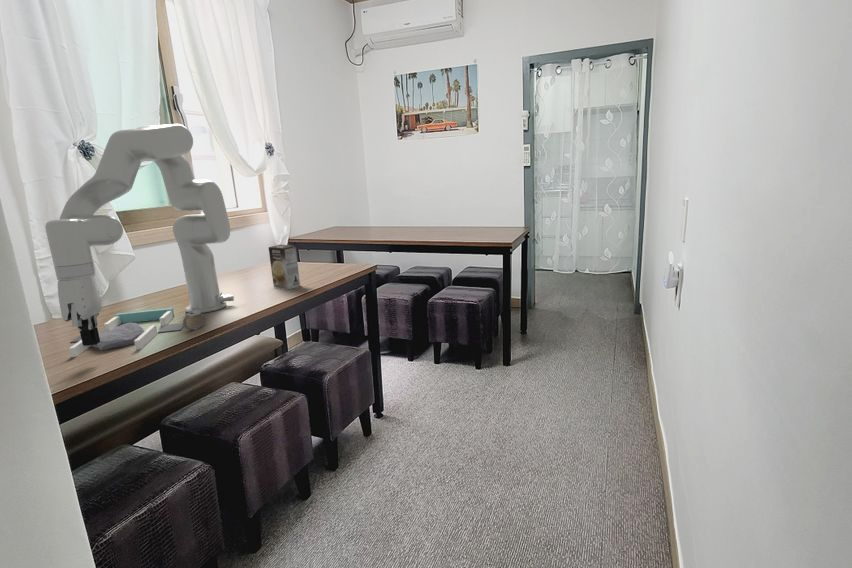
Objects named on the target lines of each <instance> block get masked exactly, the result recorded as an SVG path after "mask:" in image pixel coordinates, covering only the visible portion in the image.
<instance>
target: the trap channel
mask: <svg viewBox="0 0 852 568" xmlns="http://www.w3.org/2000/svg"><path fill="white" fill-rule="evenodd" d="M174 318H175V314H174V308H173V307H170V308H160V309H150V310H149V309H148V310H140V311H131V312H121V313H116V314H114V317H112V318H111V319H109V320H108V321H106V322H105V323H103V327H104V330H103V331H99V332H100V333H101V332H107V331H110V330H112V329H113V328H115V327H117V326H120V325H122V324H126V323H137V322H139V323H140V322H147V321H148V322H149V321H155V320H159V323H160V326H161V328H160V329H159V331H158V329H157V325H156V324H153V325H150V326H149V327H147V329H145V330H144V332H143V333H142V334H141V335H140V336H139V337H138V338H137V339H136V340H134V343H133V344H134V348H135V350H136V351H137V350H142V349H144V347H145V346H146V345H147V344H148V343H149V342H150V341H151V340H152V339H153V338H154V337H155V336H156V335H158V334H163V333H171V332H180V331H181V330H182V329H183V328H185V327H184V326H183V322H177V323H170V322H171V321H172V320H173V319H174ZM186 325H188V324H187V321H186ZM71 343H73V345H71V346H70V347H69V348H68V351H69V354H70V358H77V357H78V356H80V355H81V354H82V353H83V352H85V351H86V350H87V349H89V348H90V347H92V346H91V345H88V346H83V344H82V339H81V335H80V334H79V335H78V336H76V338H73V340H71V341H70V344H71Z"/></svg>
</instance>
